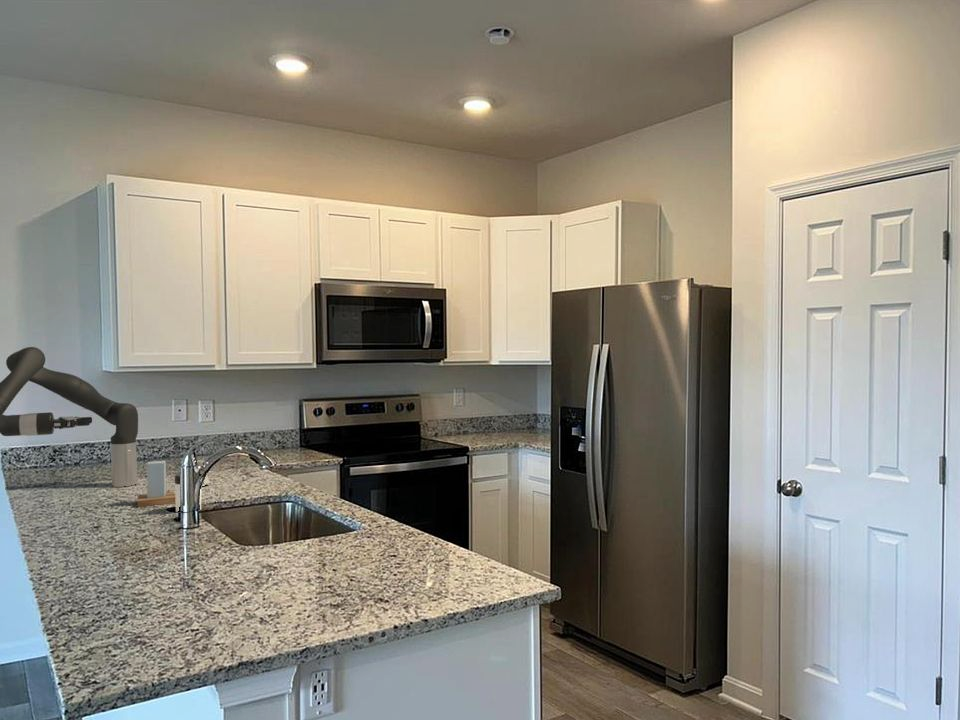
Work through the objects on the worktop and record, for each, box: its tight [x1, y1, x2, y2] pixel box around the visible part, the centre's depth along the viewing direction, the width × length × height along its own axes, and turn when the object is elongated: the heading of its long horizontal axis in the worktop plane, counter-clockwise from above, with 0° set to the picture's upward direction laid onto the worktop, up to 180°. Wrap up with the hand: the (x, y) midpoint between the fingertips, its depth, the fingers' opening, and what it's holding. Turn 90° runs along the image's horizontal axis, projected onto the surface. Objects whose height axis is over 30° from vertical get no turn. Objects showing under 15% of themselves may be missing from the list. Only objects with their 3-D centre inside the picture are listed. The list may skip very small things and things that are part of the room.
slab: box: [137, 491, 176, 508], centre depth 255 cm, size 12×12×3 cm
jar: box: [174, 473, 202, 513], centre depth 241 cm, size 9×8×12 cm
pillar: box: [146, 460, 167, 498], centre depth 255 cm, size 6×6×12 cm
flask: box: [196, 459, 211, 484], centre depth 285 cm, size 7×7×10 cm
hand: (90, 421), depth 250 cm, fingers open, 8 cm apart
